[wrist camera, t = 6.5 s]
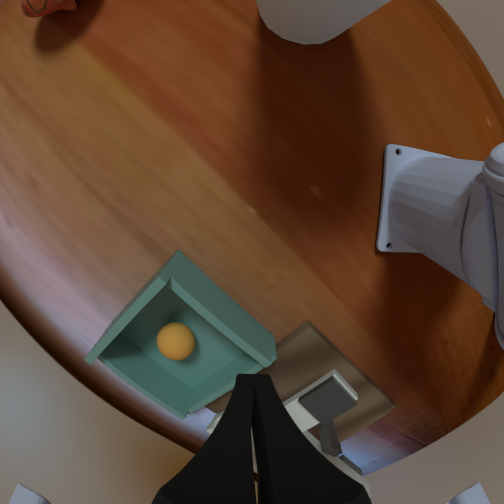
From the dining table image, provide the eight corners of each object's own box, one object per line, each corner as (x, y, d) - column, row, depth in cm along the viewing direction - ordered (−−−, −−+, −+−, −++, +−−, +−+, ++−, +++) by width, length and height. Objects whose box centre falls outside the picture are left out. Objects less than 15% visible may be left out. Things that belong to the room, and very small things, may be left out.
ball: (207, 330, 21) (178, 322, 19) (198, 366, 20) (168, 362, 18) (182, 323, 23) (154, 315, 21) (174, 357, 22) (145, 351, 20)
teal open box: (273, 335, 22) (279, 377, 18) (193, 392, 24) (185, 431, 20) (178, 249, 20) (158, 276, 15) (108, 325, 22) (84, 359, 17)
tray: (411, 443, 19) (421, 473, 15) (324, 489, 21) (322, 519, 17) (317, 339, 20) (317, 366, 16) (222, 403, 23) (204, 433, 18)
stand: (393, 401, 26) (417, 449, 19) (305, 453, 29) (312, 501, 21) (307, 320, 22) (329, 386, 15) (201, 396, 25) (190, 458, 17)
